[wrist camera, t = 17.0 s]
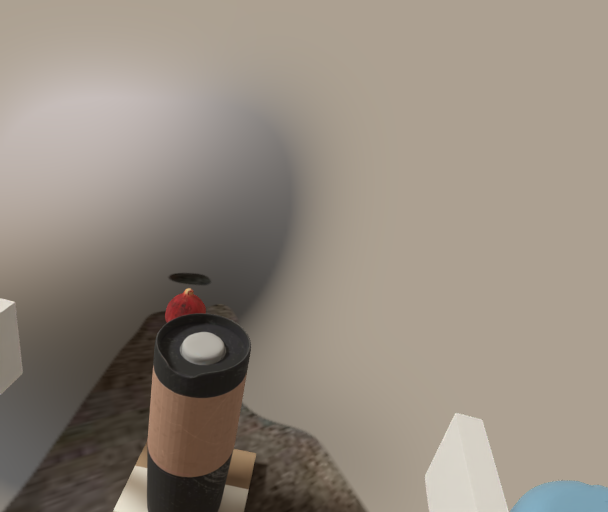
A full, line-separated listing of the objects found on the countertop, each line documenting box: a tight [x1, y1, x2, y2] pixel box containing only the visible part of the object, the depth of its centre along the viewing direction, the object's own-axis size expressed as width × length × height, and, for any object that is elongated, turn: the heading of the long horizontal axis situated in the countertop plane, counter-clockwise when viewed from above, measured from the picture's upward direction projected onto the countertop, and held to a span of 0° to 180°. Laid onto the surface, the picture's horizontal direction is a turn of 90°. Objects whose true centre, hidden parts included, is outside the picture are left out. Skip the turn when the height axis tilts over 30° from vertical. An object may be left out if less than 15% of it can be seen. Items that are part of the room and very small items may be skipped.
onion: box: [165, 288, 206, 323], centre depth 67 cm, size 6×6×8 cm
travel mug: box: [147, 313, 251, 512], centre depth 40 cm, size 8×8×20 cm
